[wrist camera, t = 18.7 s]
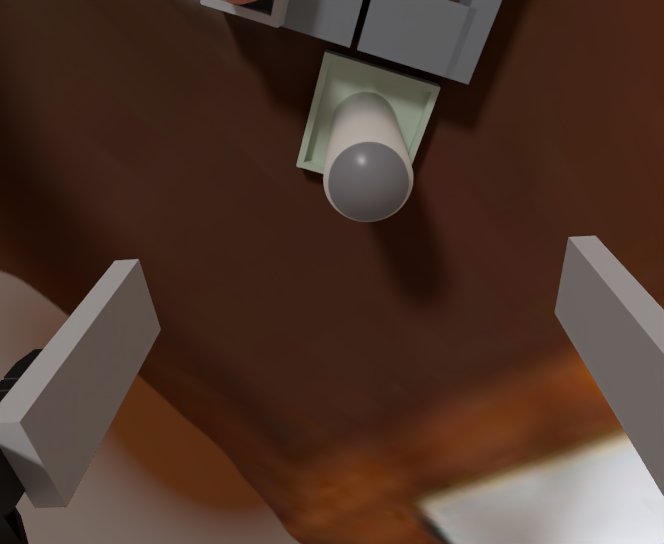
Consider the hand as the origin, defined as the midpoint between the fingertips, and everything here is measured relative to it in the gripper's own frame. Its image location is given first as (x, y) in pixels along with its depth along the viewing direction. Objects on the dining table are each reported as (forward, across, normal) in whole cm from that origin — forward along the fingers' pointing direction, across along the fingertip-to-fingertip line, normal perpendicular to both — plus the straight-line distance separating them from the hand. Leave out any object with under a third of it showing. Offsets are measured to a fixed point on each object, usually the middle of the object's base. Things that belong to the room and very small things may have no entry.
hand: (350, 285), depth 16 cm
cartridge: (+25, +1, -2) cm, 25 cm away
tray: (+26, +1, -2) cm, 26 cm away
